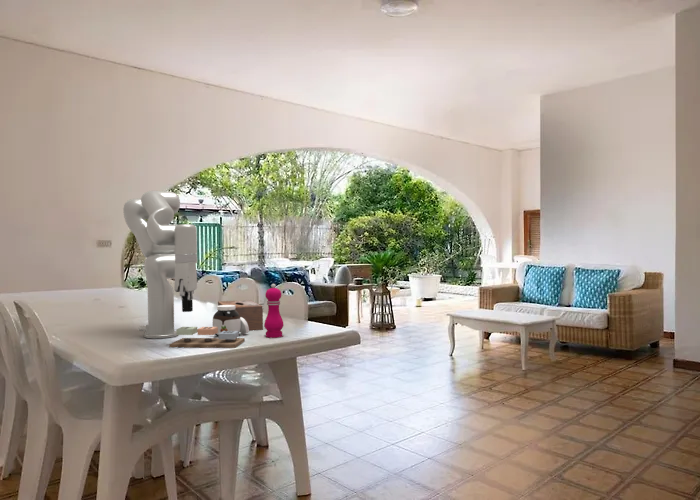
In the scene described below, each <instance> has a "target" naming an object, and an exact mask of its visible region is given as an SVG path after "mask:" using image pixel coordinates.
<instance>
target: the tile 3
mask: <svg viewBox="0 0 700 500" xmlns="http://www.w3.org/2000/svg"><path fill="white" fill-rule="evenodd" d="M239 333H240V332H239V331H223V332H221V333H219V337H218V338H219V339H236V338H240V337H239V336H240V335H239Z"/></svg>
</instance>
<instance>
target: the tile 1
mask: <svg viewBox="0 0 700 500" xmlns="http://www.w3.org/2000/svg"><path fill="white" fill-rule="evenodd" d="M197 329H198V326H180V327H179V328H176V329H175V331H176V332H177V336H193V335H195V334H198V332H197Z"/></svg>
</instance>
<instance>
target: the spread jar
mask: <svg viewBox="0 0 700 500" xmlns="http://www.w3.org/2000/svg"><path fill="white" fill-rule="evenodd" d="M216 308H217V311H216V312H215V313H214V314H213V317H212V327H218V333H216V334H214V336H216V338H219V333H221V332H223V331H239V333H241V334H242V335H247V334H248V333H249V332H250V331H249V327H248V324H247V322H246V321H245V319H244V318H242V317H240V315H239V313H238V312H237V311H236V310H235V309H236V308H235V305H220V306H218V305H217V306H216Z"/></svg>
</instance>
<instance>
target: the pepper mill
mask: <svg viewBox="0 0 700 500" xmlns="http://www.w3.org/2000/svg"><path fill="white" fill-rule="evenodd" d="M265 291H266V292H265V298H266V305H267V308H268V309H267V315H266V318H265V320H264V322H263V328H264V329H265V330H266V332H265V337H266V338H269V339H274V338H275V339H276V338H281V337H283V328H284V320H283V317H282V315H281V313H280V305H281V300H280V299H282V291H281V290H280V289H279V288H277V287H276V283H272V284H271V285H270V288H268V289H267V290H265Z"/></svg>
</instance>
